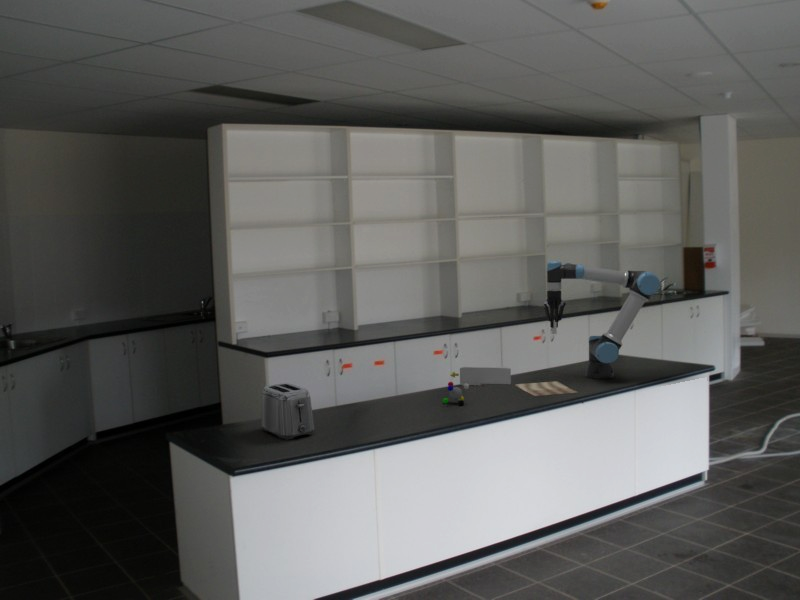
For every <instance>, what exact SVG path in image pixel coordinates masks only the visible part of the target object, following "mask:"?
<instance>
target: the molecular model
mask: <svg viewBox="0 0 800 600" xmlns="http://www.w3.org/2000/svg"><path fill="white" fill-rule="evenodd" d="M469 388H470V386H469V385H468V384H467V383H466V384H464V385H463V388H460V387H458V386H454V382H453V381H449V382H448V383H447V390H448V391H449V397H448V398H447V397H444V398H443V399H442V402H443V404H448V403H449V400H450V399H451V400H454V401H457V400H458V405H459V406H461V407H462V406H464V404H465V401H464V400H465V398H464V396H463V391H462V390H464V389H465V390H468V389H469Z"/></svg>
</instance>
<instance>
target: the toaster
mask: <svg viewBox="0 0 800 600" xmlns="http://www.w3.org/2000/svg"><path fill="white" fill-rule="evenodd" d="M261 427H262V430H263V431H265V432H269V433H271V434H273V435H275V436H277V437H278V438H280V439H284V440H286V441H288V440H293V439H294V438H296V437H298V436H299V437H300V436H303V435H308V436H311V435H313V434H314V432H315V423H314V415H313V408H312V400H311V394H310V392H309V390H308V389H306V388H305V387H302V386H300V385H296V384H294V383H293V384H292V383H289V382H284V383H283V382H282V383H275V384H269V385H266V386H264V387H263V388H262V392H261Z"/></svg>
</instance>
